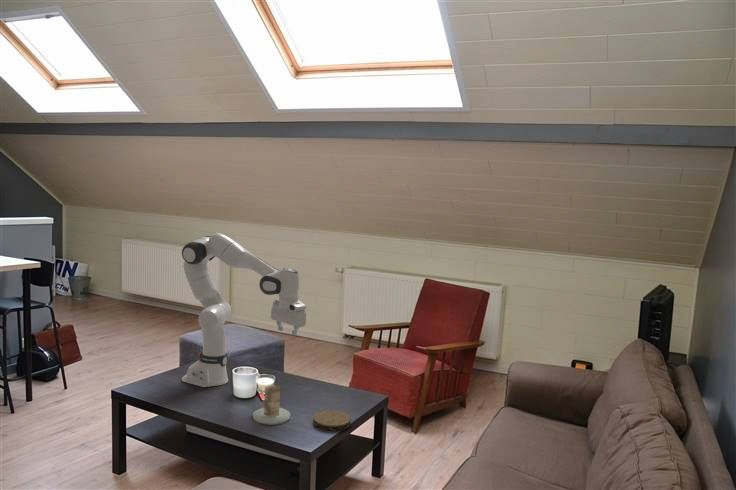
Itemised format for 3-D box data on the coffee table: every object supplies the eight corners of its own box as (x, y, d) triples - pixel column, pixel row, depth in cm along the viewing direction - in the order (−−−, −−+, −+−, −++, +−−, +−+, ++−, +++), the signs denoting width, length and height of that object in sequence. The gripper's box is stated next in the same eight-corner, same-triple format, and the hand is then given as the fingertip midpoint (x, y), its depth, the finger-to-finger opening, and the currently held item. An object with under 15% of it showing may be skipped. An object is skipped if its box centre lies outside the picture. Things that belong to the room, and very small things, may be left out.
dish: (246, 421, 250) (246, 418, 250) (262, 407, 266) (262, 404, 266) (281, 427, 246) (281, 424, 246) (295, 413, 262) (296, 410, 262)
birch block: (263, 414, 256) (264, 387, 254) (272, 411, 259) (273, 384, 258) (271, 417, 253) (272, 390, 251) (279, 414, 256) (280, 387, 255)
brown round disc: (345, 434, 244) (346, 427, 244) (308, 429, 247) (308, 422, 246) (353, 419, 260) (354, 412, 259) (318, 414, 262) (318, 408, 262)
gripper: (268, 300, 278) (267, 329, 280) (298, 308, 265) (297, 338, 267) (278, 298, 283) (277, 326, 284) (308, 306, 270) (307, 336, 272)
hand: (287, 332), depth 275 cm, fingers open, 8 cm apart
